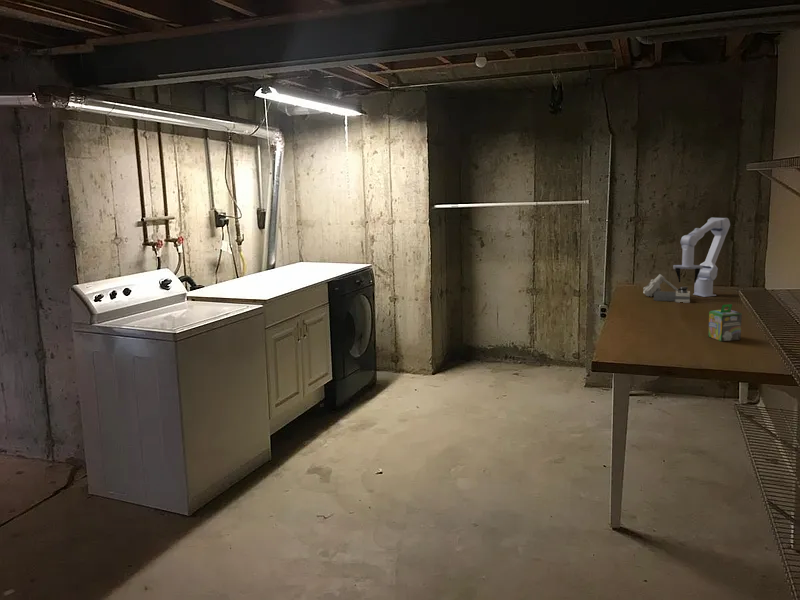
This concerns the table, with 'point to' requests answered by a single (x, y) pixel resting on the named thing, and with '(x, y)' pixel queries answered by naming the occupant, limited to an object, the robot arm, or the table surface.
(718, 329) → the chalk box
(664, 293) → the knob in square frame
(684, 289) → the round dark gray knob
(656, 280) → the mechanical valve
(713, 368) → the table surface
